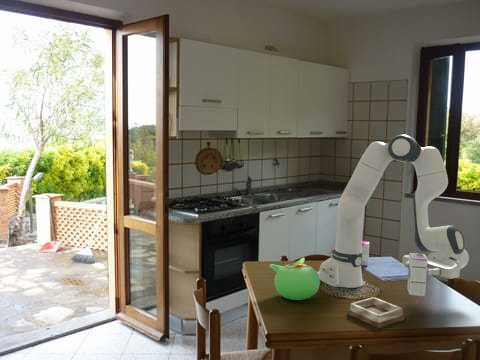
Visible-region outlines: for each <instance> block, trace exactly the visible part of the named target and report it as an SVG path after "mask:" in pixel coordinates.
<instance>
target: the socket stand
mask: <svg viewBox="0 0 480 360" xmlns="http://www.w3.org/2000/svg"><path fill="white" fill-rule="evenodd" d="M403 312H404V308H403V307H400V306H398V305H395V304H393V303H390V302H388V301H385V300H382V299H380V298H377V297H375V296H372V297H369V298H365V299H362V300H359V301H354V302H352V303H349V309H347V315H349V316H351V317H353V318H355V319H357V320H360V321H361V322H364V323H366V324H369V325H371V326H373V327H375V328H378V329H381V328H384V327H387V326H390V325H393V324H397V323H398V322H401V321H403V320H405V317H406V316H405V315H404V313H403Z"/></svg>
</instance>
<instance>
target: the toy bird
mask: <svg viewBox="0 0 480 360" xmlns="http://www.w3.org/2000/svg"><path fill="white" fill-rule="evenodd" d="M305 260H306V259H305V257H301V258H300V259H298V261H296V262H295V263H294V262H293V263H289V264H285V265H284V266H282V265H278V264H273V263H271V264H269V265H268V266H269V268H270V269H272V271H274V272H275V273H276V274H275V276H274V279H273V280H274V282H273V283H274V284H273V285H274V287H275V290H276V291H277V293H278V294H279V295H280V296H282V297H283V298H285V299H287V300H293V301H302V300H306V299H307V300H308V299H309V298H312V297H313V296H314V295H316V293H317V292H318V290H319V288H320V284H321V280H320V279H319V275H318V273H317V272H318V271H317V270H316V269H314V268H313V267H312V266H310V265H308V264H305Z"/></svg>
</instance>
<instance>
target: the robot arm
mask: <svg viewBox="0 0 480 360" xmlns="http://www.w3.org/2000/svg"><path fill="white" fill-rule="evenodd" d="M392 161H395V162H396V161H397V162H400V163H406V162H407V163H411V164H412V165H413V166H414V169H415V172H416V178H417V186H416V190H415V191H414V192H413V197H412V199H413V202H412V203H413V216H414V217H413V218H414V219H413V220H414V235H413V236H414V237H413V238H414V239H413V241H414V244H415V246H416V248H417V249H418V250H419V251H421V252H422V253H423V254H425V253H429V254H427V255H426V257H427V258H428V260H427V270H426V271H427V272H426V274H427V275H429V276H432V275H433V276H438V277H442V278H445V279H451V280H452V279H457V278H460V274H461V269H463V268H464V267H466V266H467V265H468V263H469V261H470V257H469V256H470V255H469V253H468V251H467V250H466V249H465V239H464V238H465V237H464V236H463V233H462V232H461V230H460V229H459V228H458V227H456V226H454V225H453V224H452V225H440V226H434V227H430V223H429V211H428V210H429V209H428V207H429V204H430V203H431V202H432V201H433V200H434V199H436V198H438V197H439V196H441V194H443V193H444V192H445V190H447V187H448V185H449V179H448V178H449V177H448V174H447V173H448V172H447V169H446V166H445V162H444V159H443V157H442V155H441V152H440V150H439V149H438V148H437V147H435V146H424V147H423V146H420V145H419V143H418V142H417V140H416V139H415V138H414V137H412V136H410V135H407V134H397V135H395V136H393V137H392V138H391V139H390V141H389V143H385V142H382V141H373V142H371V143H370V144H369V145H368V146H367V148H366V149H365V151H364V153H363V154H362V156H361V158H360V159H359V161H358V163H357V165H356V167H355V169H354V171H353V173H352V174H351V177H350V179H349V181H348V183H347V185H346V186H345V188H344V189H343V192H342V194H341V196H340V198H339V200H338V204H337V211H336V213H337V214H336V215H337V216H336V233H335V234H336V235H335V248H334V249H332V250H330V254H332V256H331V257H330V258H327V259H326V260H325V261H323V262H321V264H320V266H319V269H318V271H316V272H317V273H318V275H319V279H320V282H321V281H322V282H323V283H325V284H328V286H331V287H336V288H337V287H338V288H339V287H340V288H346V289H347V288H348V289H349V288H350V289H353V288H360V287H362V286H364V281H363V273H362V266H361V262H362V252H361V250H362V241H363V235H364V234H363V233H364V222H365V221H364V220H365V211H366V210H365V207H366V205H367V203H368V202H369V199H370V198H371V196H372V195H373V193H374V192H375V190H376V188H377V186H378V184H379V182H380V181H381V178H382V177H383V174H384V173H385V170H386V169H387V167H388V165H389V164H390V162H392ZM402 264H403V266H404V268H407V269H409V254H405V255H403V256H402Z"/></svg>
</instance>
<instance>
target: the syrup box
mask: <svg viewBox="0 0 480 360" xmlns="http://www.w3.org/2000/svg"><path fill="white" fill-rule="evenodd" d="M408 255H409V268H407V269H408V272H407V284H406V285H407V287H406V290H407V292H408V295H409V296H416V297H417V296H419V297H426V290H427V289H426V288H427V287H426V286H427V275H428V274H426V272H427V271H426V270H427V260H428V258H427V255H426V254H425V253H419V252H409V254H408Z"/></svg>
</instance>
